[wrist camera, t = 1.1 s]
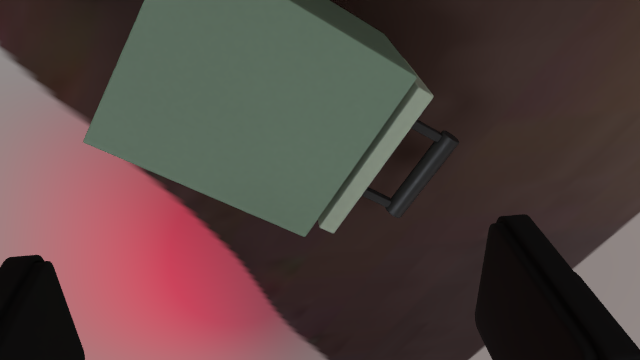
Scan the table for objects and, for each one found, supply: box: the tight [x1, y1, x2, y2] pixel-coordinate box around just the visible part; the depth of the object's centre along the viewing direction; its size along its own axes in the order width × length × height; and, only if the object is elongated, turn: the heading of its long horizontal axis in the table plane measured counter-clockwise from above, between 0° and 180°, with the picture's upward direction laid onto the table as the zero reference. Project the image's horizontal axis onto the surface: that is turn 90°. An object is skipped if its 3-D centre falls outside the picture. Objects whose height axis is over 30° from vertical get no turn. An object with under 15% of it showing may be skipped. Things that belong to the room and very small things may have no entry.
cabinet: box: [83, 0, 417, 237], centre depth 33 cm, size 15×13×9 cm
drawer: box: [318, 58, 459, 233], centre depth 35 cm, size 18×11×7 cm, turn 58°
